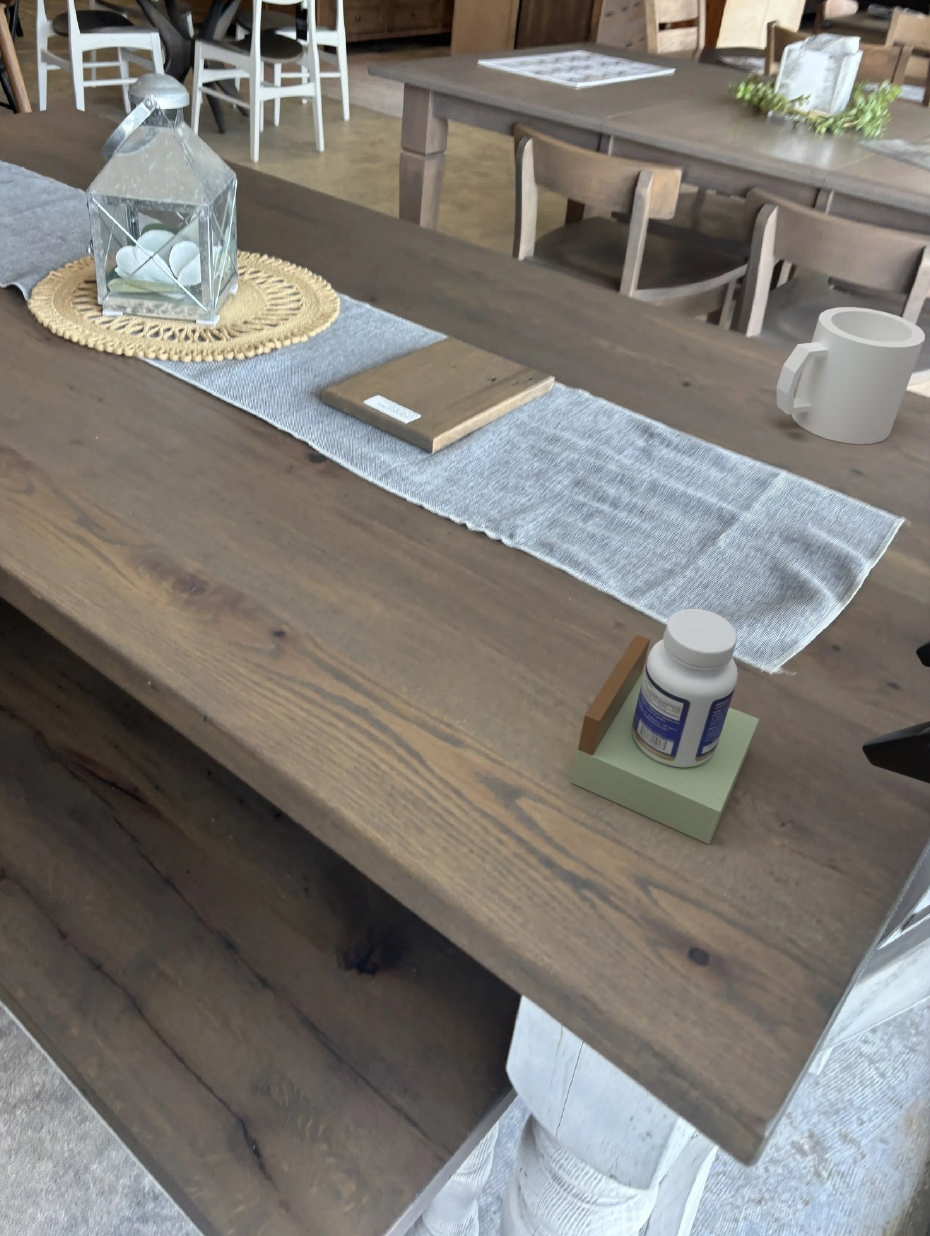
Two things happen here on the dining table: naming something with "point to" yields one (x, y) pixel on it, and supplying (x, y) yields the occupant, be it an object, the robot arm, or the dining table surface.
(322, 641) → the dining table surface
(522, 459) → the dining table surface
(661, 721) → the pill bottle
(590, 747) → the low shelf
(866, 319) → the mug
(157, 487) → the dining table surface
